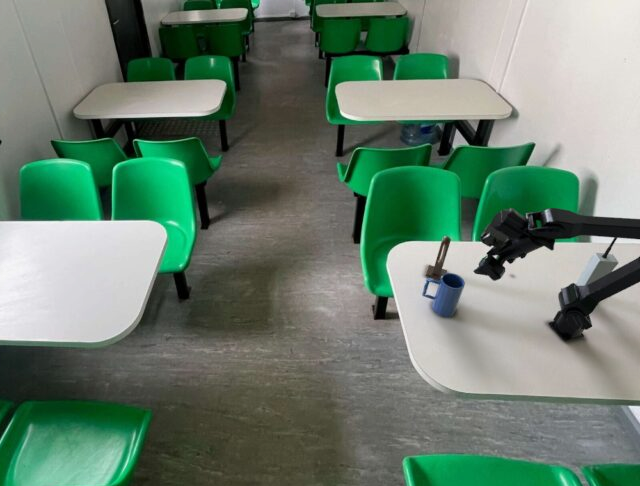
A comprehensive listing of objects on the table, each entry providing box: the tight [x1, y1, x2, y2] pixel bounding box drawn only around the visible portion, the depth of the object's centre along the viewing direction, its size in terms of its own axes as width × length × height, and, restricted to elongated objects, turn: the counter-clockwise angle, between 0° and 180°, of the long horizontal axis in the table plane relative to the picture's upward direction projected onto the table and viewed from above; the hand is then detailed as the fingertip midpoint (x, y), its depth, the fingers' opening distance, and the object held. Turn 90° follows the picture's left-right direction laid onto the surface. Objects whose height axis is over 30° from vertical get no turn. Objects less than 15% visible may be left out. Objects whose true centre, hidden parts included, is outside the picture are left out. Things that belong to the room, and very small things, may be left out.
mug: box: [421, 272, 466, 318], centre depth 128 cm, size 10×6×12 cm, turn 61°
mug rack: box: [425, 235, 452, 281], centre depth 135 cm, size 6×14×17 cm, turn 151°
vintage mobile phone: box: [575, 238, 619, 286], centre depth 126 cm, size 4×5×25 cm
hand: (481, 263), depth 127 cm, fingers open, 9 cm apart
